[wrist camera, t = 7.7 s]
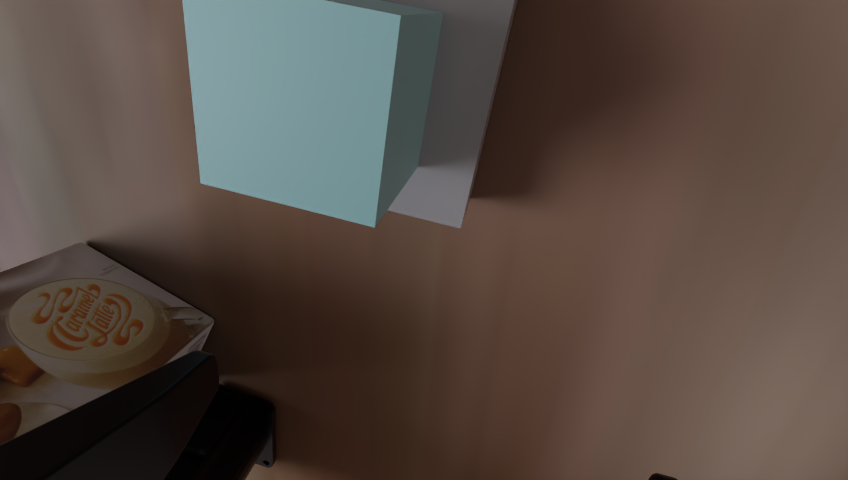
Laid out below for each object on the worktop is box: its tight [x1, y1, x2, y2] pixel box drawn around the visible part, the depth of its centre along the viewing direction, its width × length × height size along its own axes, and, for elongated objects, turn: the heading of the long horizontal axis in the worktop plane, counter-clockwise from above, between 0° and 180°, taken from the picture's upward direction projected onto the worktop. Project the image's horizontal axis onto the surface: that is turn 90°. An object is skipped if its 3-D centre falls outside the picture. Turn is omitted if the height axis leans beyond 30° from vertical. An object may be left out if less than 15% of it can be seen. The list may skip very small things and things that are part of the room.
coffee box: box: [0, 243, 214, 445], centre depth 19 cm, size 9×6×16 cm
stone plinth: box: [382, 0, 518, 229], centre depth 16 cm, size 9×9×3 cm
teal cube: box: [183, 0, 443, 228], centre depth 13 cm, size 5×5×5 cm
